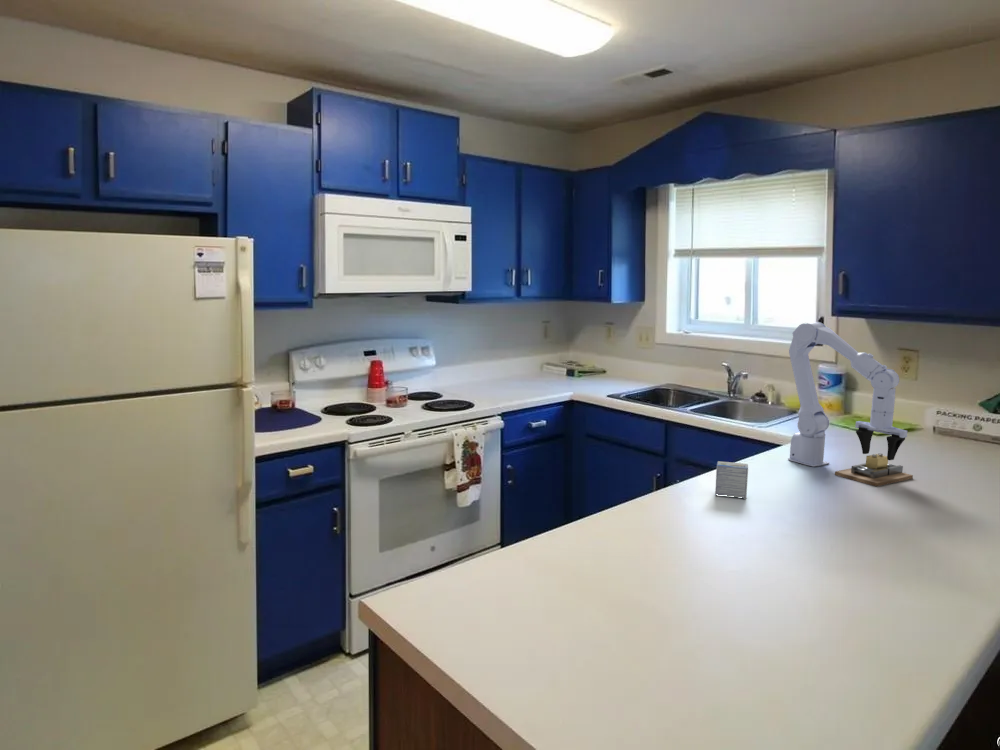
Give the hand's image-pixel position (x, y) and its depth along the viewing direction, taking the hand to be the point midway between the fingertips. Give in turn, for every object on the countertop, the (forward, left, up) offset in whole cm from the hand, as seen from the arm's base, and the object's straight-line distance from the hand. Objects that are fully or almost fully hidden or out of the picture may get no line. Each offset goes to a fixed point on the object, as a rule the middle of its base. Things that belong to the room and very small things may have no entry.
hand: (877, 456), depth 201 cm
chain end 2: (0, +4, -5) cm, 6 cm away
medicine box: (-6, -53, -6) cm, 54 cm away
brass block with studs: (0, 0, -5) cm, 5 cm away
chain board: (0, -1, -6) cm, 6 cm away
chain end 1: (0, -4, -5) cm, 6 cm away
